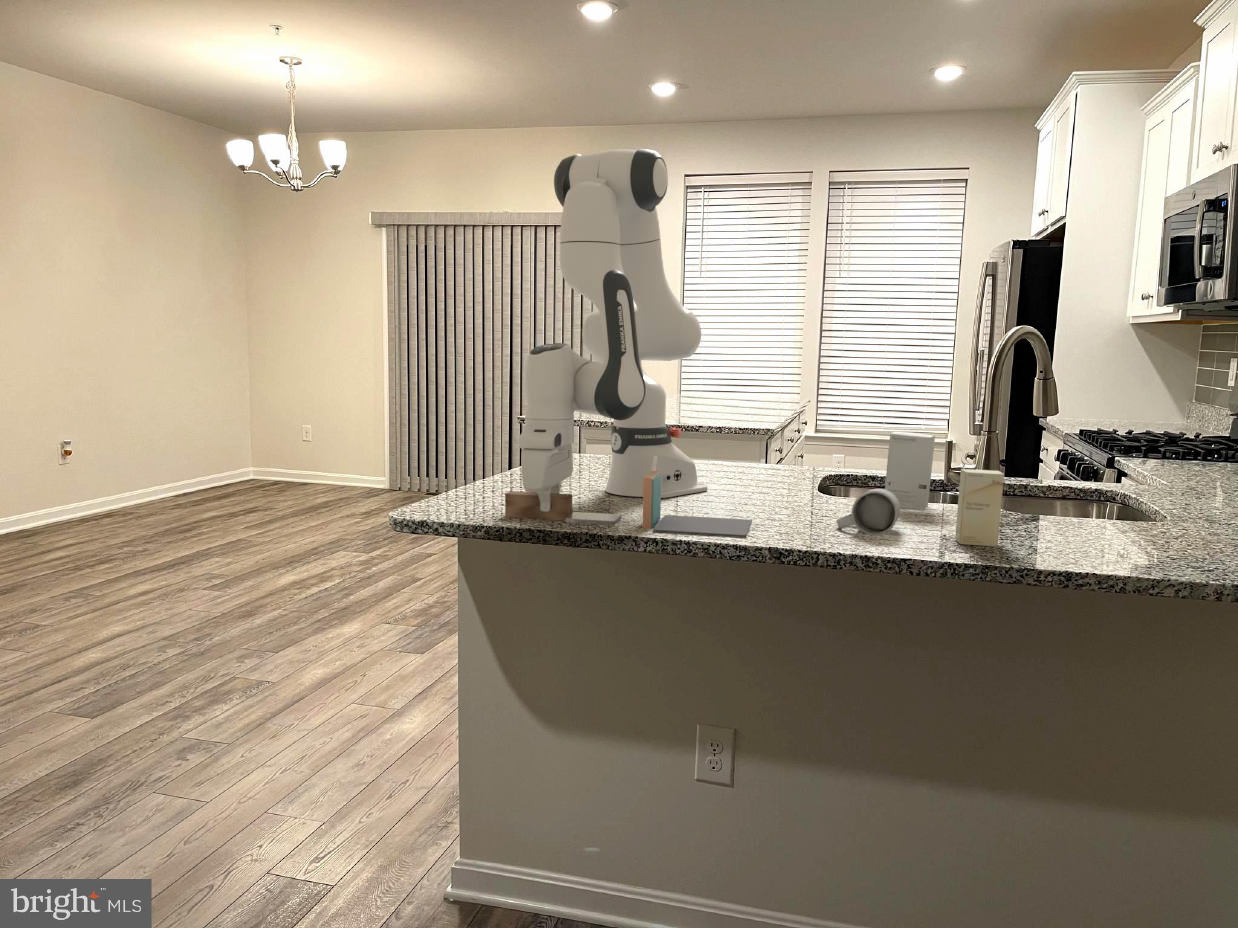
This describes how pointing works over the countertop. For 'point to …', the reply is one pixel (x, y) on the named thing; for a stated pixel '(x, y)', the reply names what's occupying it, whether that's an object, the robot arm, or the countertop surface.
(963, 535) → the skincare box
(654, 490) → the tile
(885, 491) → the ceramic mug
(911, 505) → the skincare box
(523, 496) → the turner
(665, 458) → the robot arm
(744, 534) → the mat
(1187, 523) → the countertop surface
